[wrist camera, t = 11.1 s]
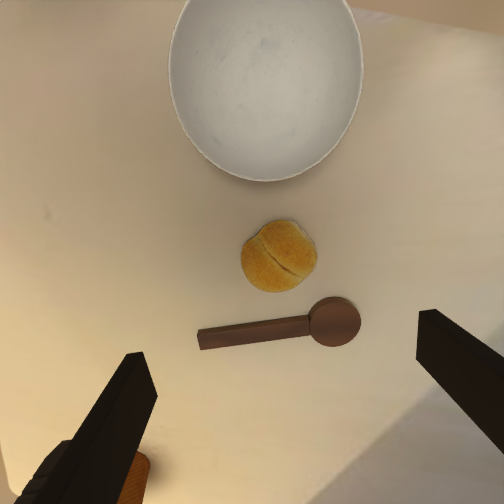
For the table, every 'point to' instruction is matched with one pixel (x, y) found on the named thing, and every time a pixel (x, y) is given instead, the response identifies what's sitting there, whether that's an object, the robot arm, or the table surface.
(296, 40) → the chinaware
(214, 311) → the table surface
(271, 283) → the bread roll
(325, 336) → the wooden spoon
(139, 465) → the disposable coffee cup
